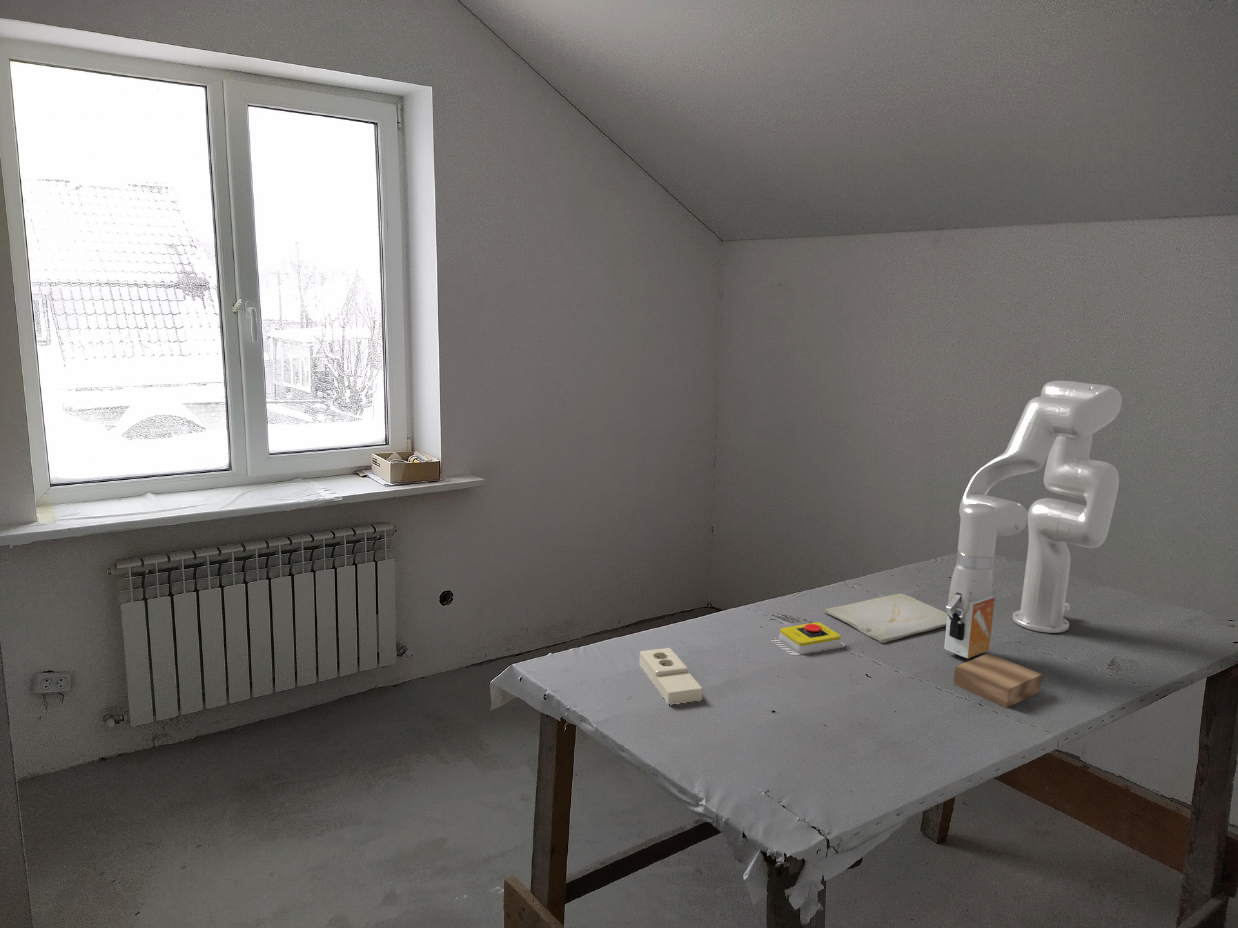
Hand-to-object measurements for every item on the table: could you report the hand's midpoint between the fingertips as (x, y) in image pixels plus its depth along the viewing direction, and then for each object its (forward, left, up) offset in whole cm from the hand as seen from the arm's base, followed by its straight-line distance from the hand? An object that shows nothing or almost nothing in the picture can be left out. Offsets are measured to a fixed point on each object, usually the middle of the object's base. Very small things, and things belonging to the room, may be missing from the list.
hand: (968, 632), depth 194 cm
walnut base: (+9, +13, -5) cm, 17 cm away
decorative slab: (-3, -23, -6) cm, 24 cm away
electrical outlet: (+65, -26, -6) cm, 70 cm away
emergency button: (+25, -24, -6) cm, 35 cm away
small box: (0, 0, -4) cm, 4 cm away
